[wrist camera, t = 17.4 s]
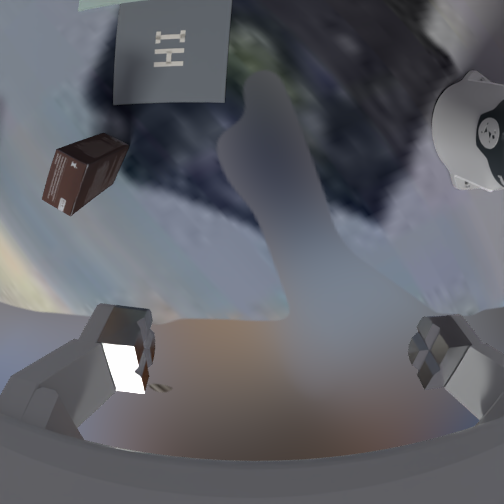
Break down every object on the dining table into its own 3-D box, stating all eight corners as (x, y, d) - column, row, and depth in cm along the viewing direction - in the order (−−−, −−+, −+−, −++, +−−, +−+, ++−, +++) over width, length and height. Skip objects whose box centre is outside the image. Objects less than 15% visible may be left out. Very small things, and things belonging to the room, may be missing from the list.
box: (101, 131, 36) (55, 147, 25) (130, 145, 37) (92, 165, 26) (85, 171, 38) (39, 200, 27) (112, 185, 39) (73, 219, 29)
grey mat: (232, -3, 29) (232, -4, 29) (224, 102, 35) (224, 102, 35) (120, 3, 28) (120, 3, 28) (113, 105, 34) (112, 105, 34)
